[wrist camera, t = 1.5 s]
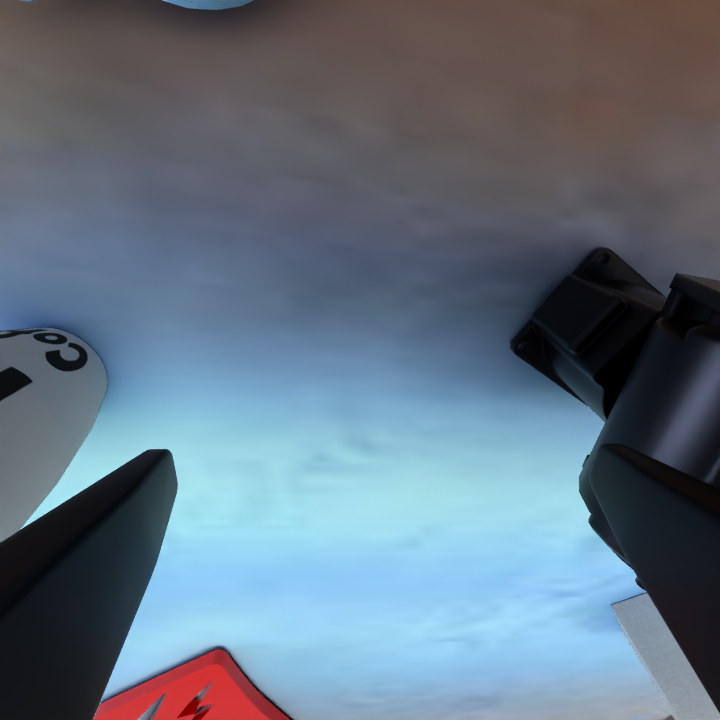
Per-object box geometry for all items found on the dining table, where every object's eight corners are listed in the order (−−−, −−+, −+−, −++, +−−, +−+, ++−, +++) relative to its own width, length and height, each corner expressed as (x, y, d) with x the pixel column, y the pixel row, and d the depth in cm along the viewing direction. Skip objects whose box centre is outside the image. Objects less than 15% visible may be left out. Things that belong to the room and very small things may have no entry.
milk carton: (610, 605, 31) (718, 785, 22) (703, 573, 30) (858, 749, 21) (623, 632, 32) (729, 812, 23) (712, 602, 31) (861, 780, 22)
